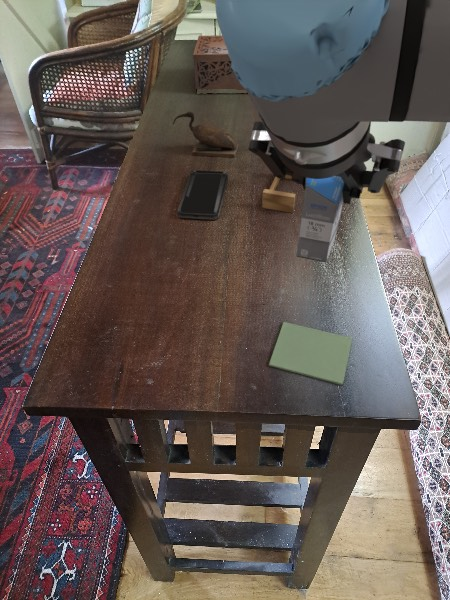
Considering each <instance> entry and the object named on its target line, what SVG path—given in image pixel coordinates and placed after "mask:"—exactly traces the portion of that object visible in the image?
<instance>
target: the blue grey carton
mask: <svg viewBox="0 0 450 600" xmlns="http://www.w3.org/2000/svg"><path fill="white" fill-rule="evenodd" d="M344 184H345V182H344V181H343V179H342V178H341V177H338V176H333V177H330V178H324V179H311V178H306V181H305V190H304V195H303V201H302V210H301V211H302V212H301V218H300V227H299V233H298V235H299V236H298V242H297V249H296V255H295V256H296V257H297V258H301V259H306V260H311V261H316V262H321V263H327V262H328V260H329V257H330V253H331V251H332V248H333V245H334V243H335V240H336V236H337V233H338V229H339V227H340V223H341V218H342V213H343V209H344V204H345V203H344V199H343V188H344Z"/></svg>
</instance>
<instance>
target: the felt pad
mask: <svg viewBox="0 0 450 600" xmlns="http://www.w3.org/2000/svg"><path fill="white" fill-rule="evenodd" d="M352 342H353V337H350V336H345V335H341V334H337V333H333V332H328V331H324V330H320V329H317V328H316V329H315V328H312V327H308V326H303V325H299V324H295V323H290V322H287V321H283V322H282V325H281V328H280V331H279V334H278V337H277V340H276V342H275V346H274V349H273V351H272V355H271V357H270V360H269V362H268V366H269V367H272V368H276V369H278V370H279V369H280V370H283V371H286V372H291V373H294V374H299V375H302V376H305V377H310V378H314V379H317V380H320V381H325V382H329V383H332V384H336V385H340V386H344V382H345V376H346V371H347V367H348V361H349V357H350V351H351V347H352Z"/></svg>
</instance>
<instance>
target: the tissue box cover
mask: <svg viewBox="0 0 450 600" xmlns="http://www.w3.org/2000/svg"><path fill="white" fill-rule="evenodd" d="M192 54H193V55H192V57H193V58H192V59H193V70H194V84H195V90H196V89H201V90H203V89H206V90H208V89H210V90H212V89H236V90H245V88H244V87H243V86H242V85H241V84H240V82H239V81H238V80H237V78H236V75H235V73H234V71H233V69H232V68H231V65H232V62H231V60H230V57H229V56H228V50H227V47H226V45H225V42H224V39H223V36H222V34H219V35H198V37H197V41H196V44H195V47H194V50H193V53H192Z"/></svg>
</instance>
